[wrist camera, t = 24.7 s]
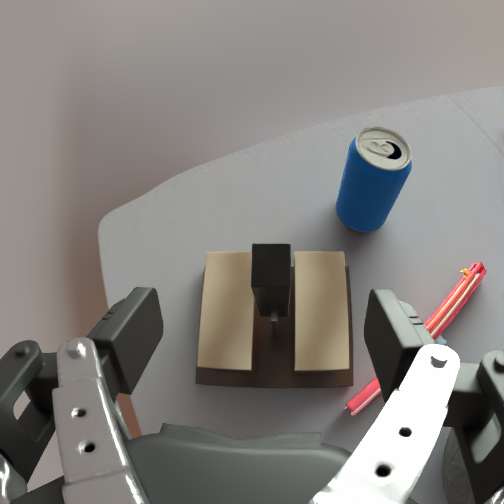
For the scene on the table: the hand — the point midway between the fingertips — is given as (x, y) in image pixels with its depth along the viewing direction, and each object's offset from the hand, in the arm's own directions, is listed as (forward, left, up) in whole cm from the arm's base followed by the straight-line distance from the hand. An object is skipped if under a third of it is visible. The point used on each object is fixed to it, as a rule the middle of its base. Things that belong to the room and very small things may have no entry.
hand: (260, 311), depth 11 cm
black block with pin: (-1, +3, -21) cm, 21 cm away
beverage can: (+6, +19, -22) cm, 30 cm away
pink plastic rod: (+16, +5, -22) cm, 28 cm away
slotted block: (-1, +3, -22) cm, 22 cm away
